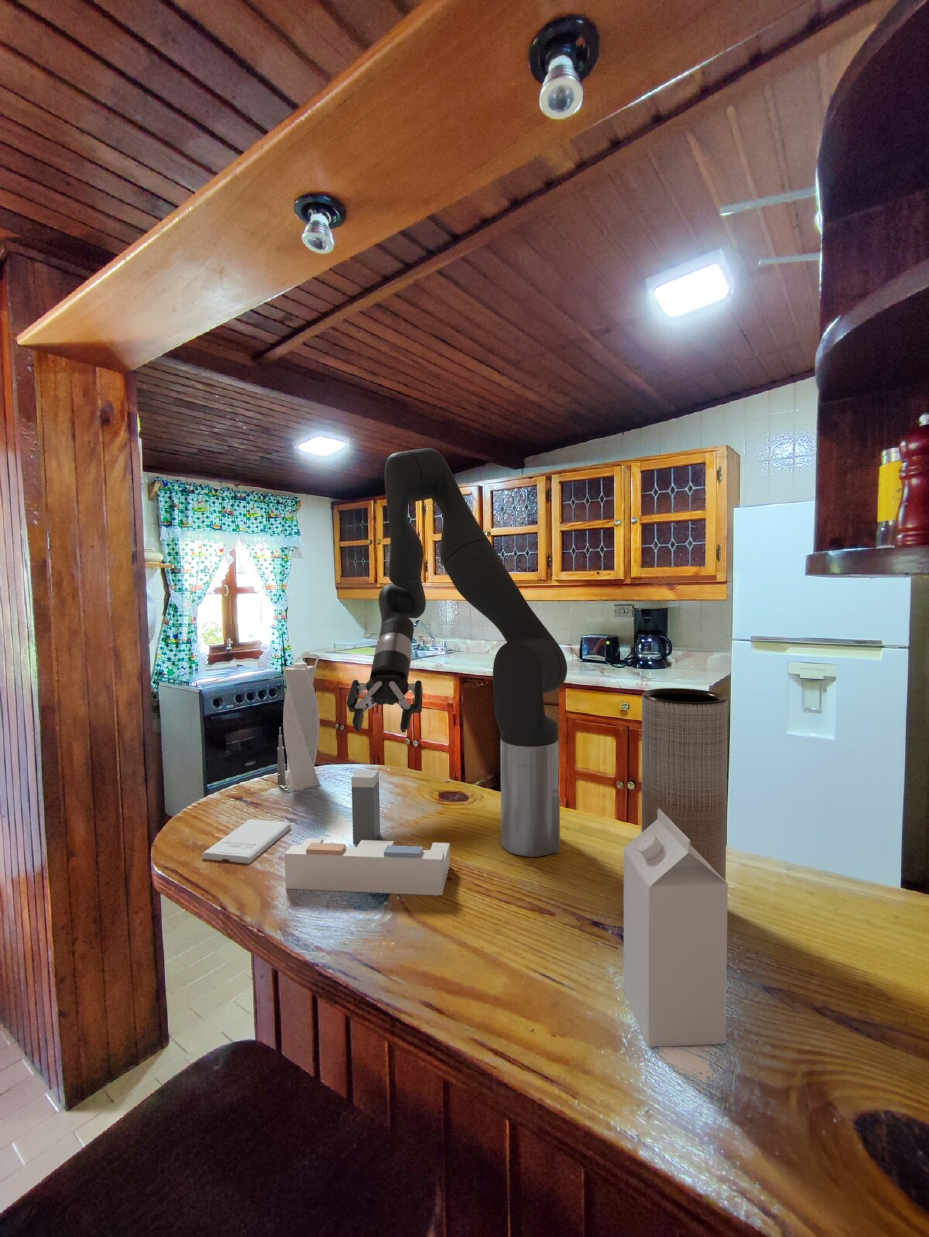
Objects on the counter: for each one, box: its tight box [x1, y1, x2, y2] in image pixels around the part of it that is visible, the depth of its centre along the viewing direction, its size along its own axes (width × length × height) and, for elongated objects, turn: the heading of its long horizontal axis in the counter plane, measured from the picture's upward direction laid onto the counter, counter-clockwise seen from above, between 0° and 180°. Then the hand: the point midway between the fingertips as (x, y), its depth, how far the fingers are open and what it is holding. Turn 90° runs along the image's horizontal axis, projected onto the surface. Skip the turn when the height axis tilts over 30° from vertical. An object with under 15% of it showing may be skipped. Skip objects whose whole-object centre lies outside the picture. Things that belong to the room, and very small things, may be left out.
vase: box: [641, 687, 729, 882], centre depth 69 cm, size 10×10×28 cm
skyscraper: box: [276, 654, 321, 793], centre depth 117 cm, size 8×8×28 cm
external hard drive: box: [201, 819, 292, 864], centre depth 91 cm, size 2×8×12 cm
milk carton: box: [623, 809, 729, 1048], centre depth 52 cm, size 7×7×19 cm
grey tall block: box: [351, 769, 381, 844], centre depth 92 cm, size 4×4×11 cm
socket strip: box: [284, 837, 451, 897], centre depth 79 cm, size 22×8×6 cm, turn 84°
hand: (380, 730), depth 102 cm, fingers open, 8 cm apart
